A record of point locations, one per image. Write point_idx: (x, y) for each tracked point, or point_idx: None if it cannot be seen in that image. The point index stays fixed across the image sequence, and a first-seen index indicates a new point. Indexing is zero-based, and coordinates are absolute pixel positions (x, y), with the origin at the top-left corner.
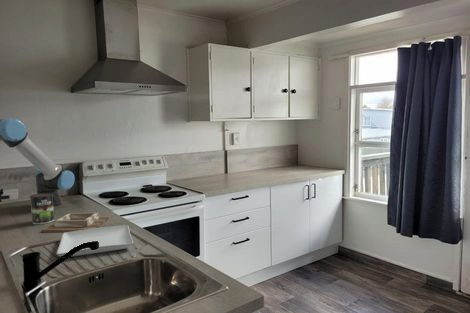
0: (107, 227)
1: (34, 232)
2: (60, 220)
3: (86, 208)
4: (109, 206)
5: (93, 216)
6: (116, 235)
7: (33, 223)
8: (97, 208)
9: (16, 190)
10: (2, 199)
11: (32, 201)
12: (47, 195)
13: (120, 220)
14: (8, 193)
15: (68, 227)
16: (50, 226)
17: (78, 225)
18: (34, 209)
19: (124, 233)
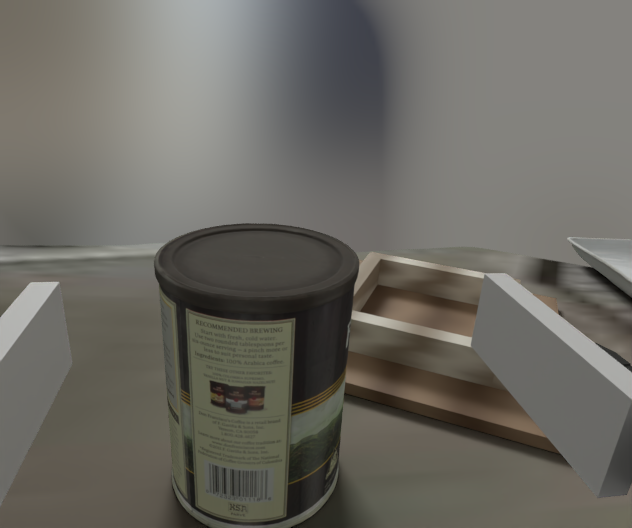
0: (604, 261)
1: (572, 495)
2: None
3: None
4: (114, 251)
5: (440, 266)
6: (629, 271)
7: (302, 518)
8: (111, 275)
9: (53, 313)
10: (621, 474)
11: (320, 334)
12: (300, 239)
13: (405, 255)
14: (11, 438)
15: None
16: (483, 409)
17: None
18: (328, 396)
19: (625, 256)
